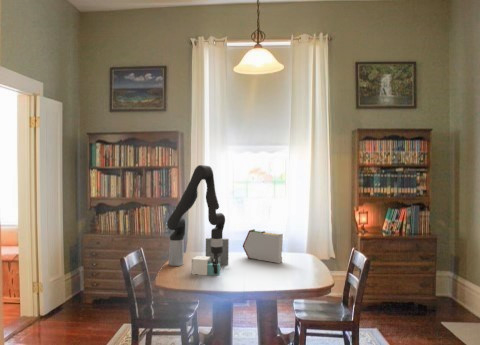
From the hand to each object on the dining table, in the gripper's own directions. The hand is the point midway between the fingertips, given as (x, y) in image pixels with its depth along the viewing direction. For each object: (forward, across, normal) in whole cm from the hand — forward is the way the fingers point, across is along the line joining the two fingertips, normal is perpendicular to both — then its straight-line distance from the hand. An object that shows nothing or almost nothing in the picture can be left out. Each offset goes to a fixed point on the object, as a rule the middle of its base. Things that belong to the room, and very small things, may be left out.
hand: (216, 272), depth 220 cm
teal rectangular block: (+1, 0, -5) cm, 5 cm away
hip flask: (+1, -22, -5) cm, 22 cm away
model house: (+1, -42, +25) cm, 49 cm away
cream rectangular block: (+1, 0, -10) cm, 10 cm away
